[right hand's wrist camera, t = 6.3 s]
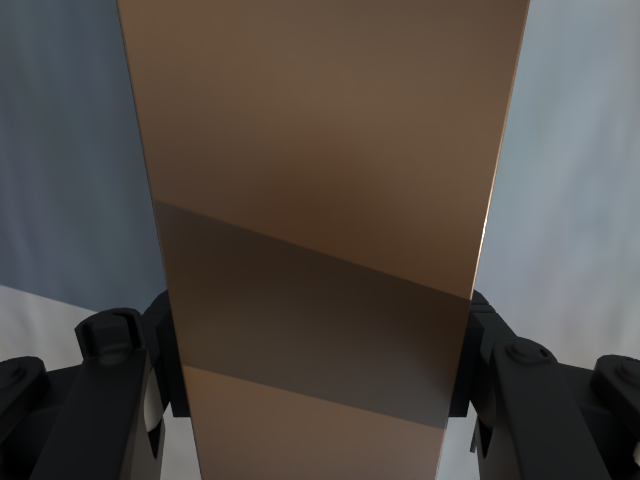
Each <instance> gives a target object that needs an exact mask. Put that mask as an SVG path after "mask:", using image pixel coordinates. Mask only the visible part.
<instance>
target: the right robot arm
mask: <svg viewBox="0 0 640 480" xmlns="http://www.w3.org/2000/svg"><path fill="white" fill-rule="evenodd" d="M74 330H75V333H76V336H77V340H78V343H79V346H80V349H81V353H82V356H83V359H84V360H83V362H82V364H81V365H77V366H73V367H68V368H63V369H58V370H53V371H48V372H47V371H46V368H45V366H44V363H43V361H42V360H41V359H39V358H38V357H31V356H25V357H18V358H12V359H8V360H7V361H2V362H0V480H160V474H161V465H162V456H163V447H164V438H165V424H164V419H163V414H164V412H165V410H166V408H167V406H168V404H169V402H170V403H171V408H172V413H173V417H190V412H189V406H188V401H187V395H186V390H185V384H184V378H183V373H182V367H181V362H180V356H179V350H178V345H177V339H176V334H175V328H174V322H173V317H172V311H171V306H170V300H169V294H168V290H166V291H165V292H163V293H161V294H160V295H158V297H157V298H156V299H155V300H154V301H153V303H152V304H151V306H149V307H148V309H147V310H146V311H145V312H144V314H142V316H141V315H140V313H139V312H138V311H137V310H135V309H131V308H114V309H110V310H105V311H102V312H99V313H97V314H94V315H92V316H90V317H88V318H86V319H85V320H83V321H82V322H80V323H79V324H78V326H77V327H76V328H75V329H74ZM470 401H471V403H472V404H473V406H474V408H475V410H476V412H477V414H478V415H477V419H476V424H475V429H474V433H473V438H472V442H471V448H470V452H473V453H475V449H476V446H477V455H478V464H479V473H480V480H640V360H637V359H633V358H631V357H627V356H619V355H603V356H602V357H600V358H599V359H597V362H596V365H595V367H594V370H590V369H585V368H580V367H575V366H570V365H565V364H561V363H558V362H557V359H556V358H555V357H554V355H553V354H552V353H551V352H550V351H549V350H548V349H546V348H545V347H544V346H542V345H540V344H538V343H536V342H534V341H532V340H529V339H526V338H522V337H518V336H516V334H515V333H514V332H513V331H512V330H511V329H510V327H509V326H508V325H507V324H506V323H505V321H504V320H503V319H502V318H501V317H500V316H499V314H498V313H496V311H495V310H494V308H493V307H492V306H491V305H489V302H488V301H487V300H486V299H485V298H484V297H483V295H482V294H481V293H479V292H477V291H476V290H473V295H472V300H471V305H470V310H469V315H468V320H467V326H466V331H465V336H464V341H463V346H462V351H461V356H460V361H459V366H458V372H457V377H456V382H455V387H454V392H453V397H452V402H451V407H450V412H449V417H466V416H467V412H468V407H469V402H470Z"/></svg>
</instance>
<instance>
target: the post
mask: <svg viewBox="0 0 640 480" xmlns="http://www.w3.org/2000/svg"><path fill="white" fill-rule="evenodd" d="M116 4H117V9H118V15H119V20H120V26H121V32H122V37H123V43H124V48H125V54H126V59H127V65H128V71H129V76H130V82H131V87H132V93H133V99H134V104H135V110H136V115H137V121H138V127H139V132H140V138H141V143H142V149H143V155H144V160H145V166H146V171H147V177H148V183H149V188H150V194H151V199H152V205H153V211H154V216H155V222H156V227H157V233H158V239H159V244H160V250H161V255H162V261H163V267H164V272H165V278H166V283H167V289H168V294H169V300H170V306H171V311H172V317H173V322H174V328H175V334H176V339H177V345H178V350H179V356H180V362H181V367H182V373H183V378H184V384H185V390H186V395H187V401H188V406H189V412H190V418H191V423H192V429H193V434H194V440H195V446H196V451H197V457H198V462H199V468H200V474H201V479H202V480H436V479H437V474H438V469H439V463H440V458H441V453H442V448H443V443H444V438H445V433H446V428H447V423H448V417H449V412H450V407H451V402H452V397H453V392H454V387H455V382H456V377H457V372H458V366H459V361H460V356H461V351H462V346H463V341H464V336H465V331H466V326H467V320H468V315H469V310H470V305H471V300H472V295H473V290H474V285H475V280H476V274H477V269H478V264H479V259H480V254H481V249H482V244H483V239H484V234H485V229H486V223H487V218H488V213H489V208H490V203H491V198H492V193H493V188H494V183H495V177H496V172H497V167H498V162H499V157H500V152H501V147H502V142H503V137H504V131H505V126H506V121H507V116H508V111H509V106H510V101H511V96H512V91H513V86H514V80H515V75H516V70H517V65H518V60H519V55H520V50H521V45H522V40H523V34H524V29H525V24H526V19H527V14H528V9H529V4H530V0H116Z"/></svg>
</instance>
